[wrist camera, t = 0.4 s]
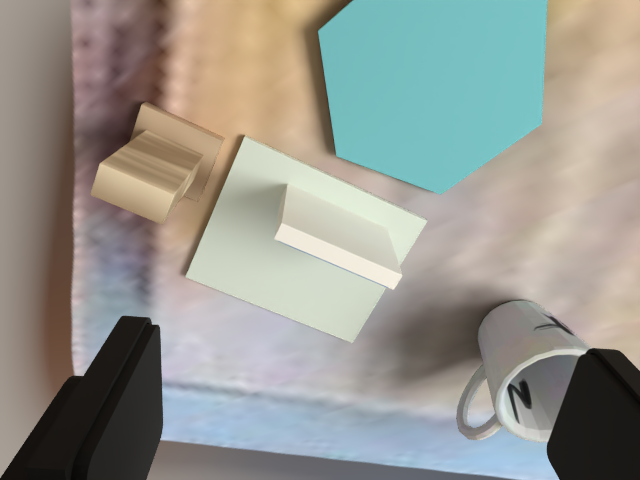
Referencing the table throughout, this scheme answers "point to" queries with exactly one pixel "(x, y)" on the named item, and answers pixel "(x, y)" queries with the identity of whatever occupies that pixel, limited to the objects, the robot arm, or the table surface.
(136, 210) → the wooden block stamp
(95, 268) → the table surface
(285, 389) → the table surface
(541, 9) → the plaque
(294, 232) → the tile
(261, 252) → the board
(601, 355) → the robot arm
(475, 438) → the mug
